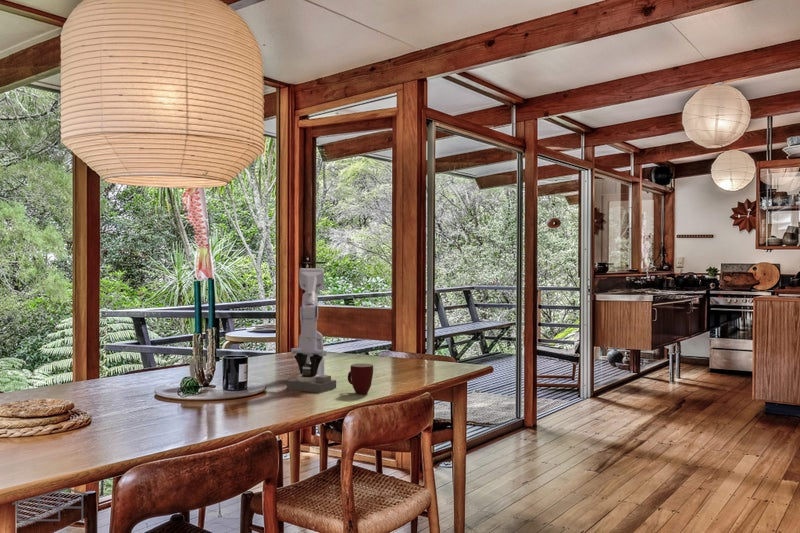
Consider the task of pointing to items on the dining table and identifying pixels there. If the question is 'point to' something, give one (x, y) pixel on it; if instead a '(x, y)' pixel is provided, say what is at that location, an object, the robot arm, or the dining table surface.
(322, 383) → the camera body
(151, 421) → the dining table surface
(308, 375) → the lens
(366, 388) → the mug
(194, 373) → the cup
